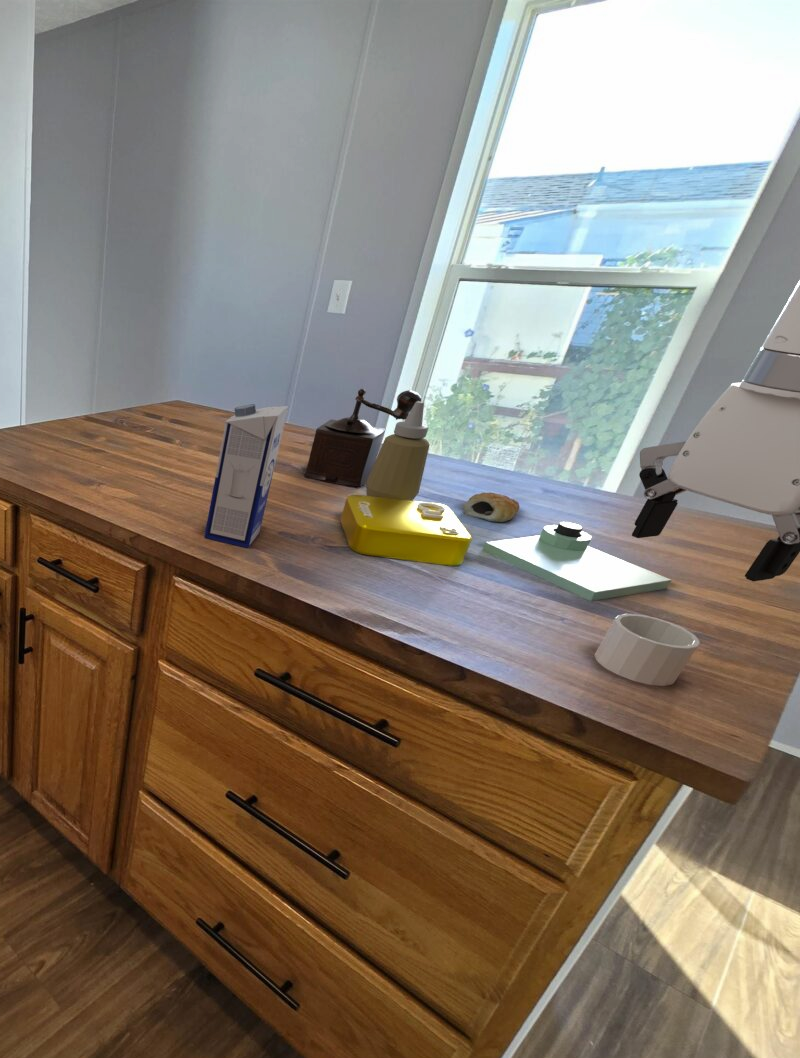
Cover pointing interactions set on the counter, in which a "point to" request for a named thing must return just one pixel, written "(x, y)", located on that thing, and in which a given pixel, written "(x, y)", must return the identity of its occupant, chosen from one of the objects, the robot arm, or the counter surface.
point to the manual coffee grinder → (352, 443)
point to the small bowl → (646, 649)
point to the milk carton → (244, 474)
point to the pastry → (491, 507)
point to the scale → (576, 565)
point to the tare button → (569, 529)
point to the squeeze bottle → (401, 459)
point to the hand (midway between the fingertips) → (698, 556)
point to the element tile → (404, 530)
